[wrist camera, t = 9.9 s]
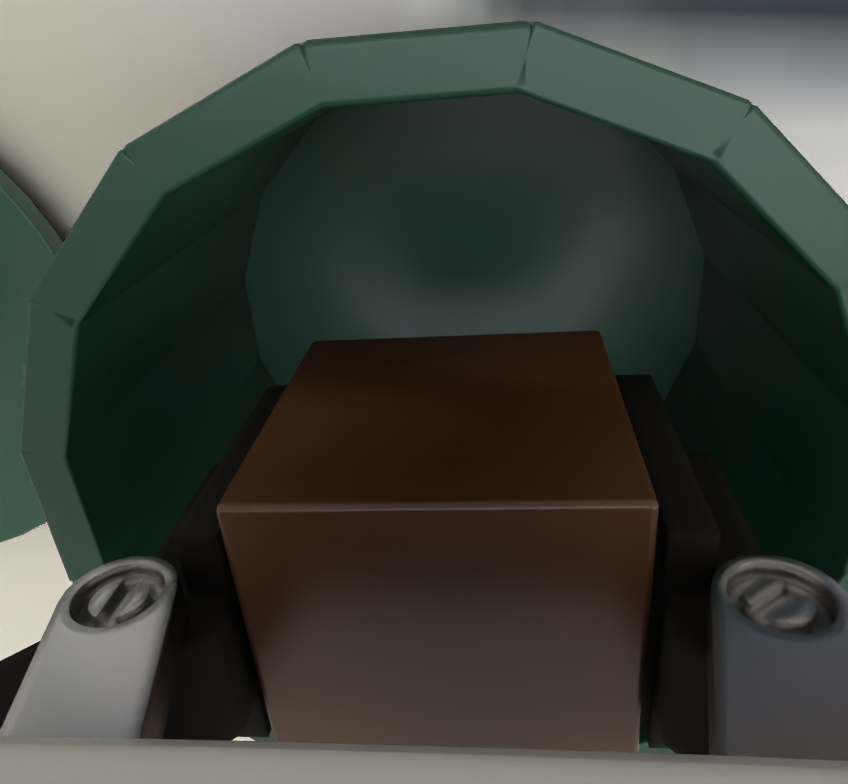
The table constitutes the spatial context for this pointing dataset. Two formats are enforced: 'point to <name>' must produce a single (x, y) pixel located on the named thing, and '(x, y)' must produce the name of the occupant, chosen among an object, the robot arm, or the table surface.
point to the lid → (18, 346)
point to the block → (448, 546)
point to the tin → (443, 268)
